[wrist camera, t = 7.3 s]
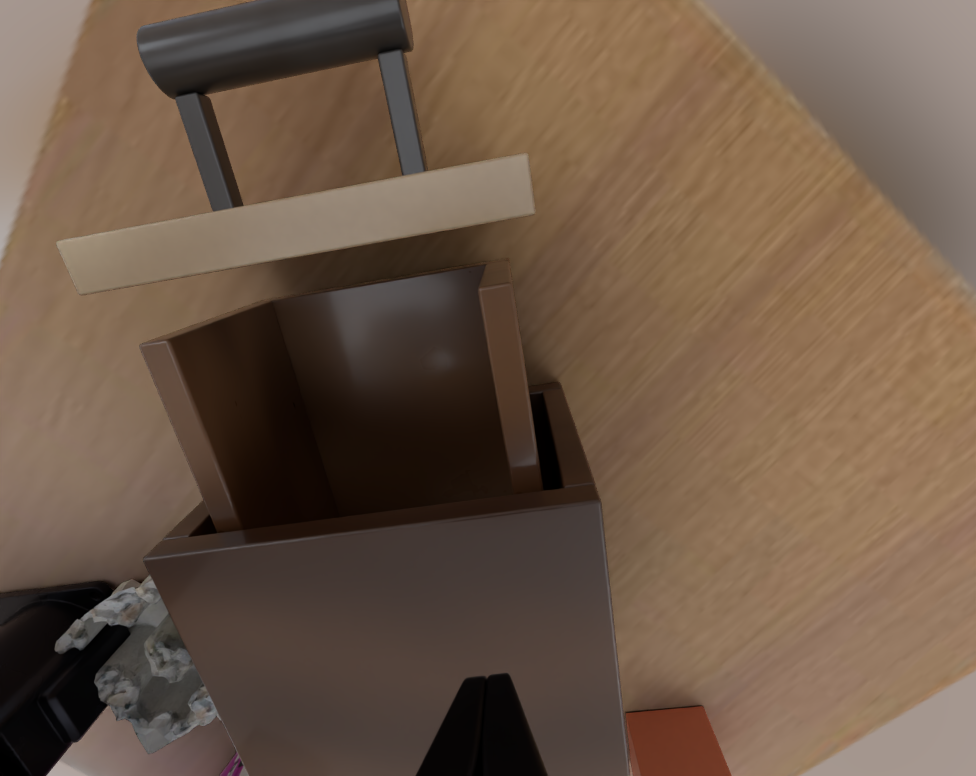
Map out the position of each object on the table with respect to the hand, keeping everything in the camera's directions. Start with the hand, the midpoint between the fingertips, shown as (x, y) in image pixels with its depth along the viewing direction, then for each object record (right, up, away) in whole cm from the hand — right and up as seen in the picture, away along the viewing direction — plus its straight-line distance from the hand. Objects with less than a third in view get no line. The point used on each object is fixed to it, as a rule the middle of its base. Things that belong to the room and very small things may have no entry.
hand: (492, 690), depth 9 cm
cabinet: (-2, -1, +13) cm, 13 cm away
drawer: (-4, +8, +9) cm, 13 cm away
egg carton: (-13, -5, +15) cm, 20 cm away
